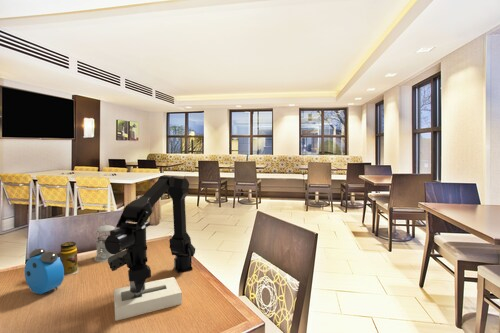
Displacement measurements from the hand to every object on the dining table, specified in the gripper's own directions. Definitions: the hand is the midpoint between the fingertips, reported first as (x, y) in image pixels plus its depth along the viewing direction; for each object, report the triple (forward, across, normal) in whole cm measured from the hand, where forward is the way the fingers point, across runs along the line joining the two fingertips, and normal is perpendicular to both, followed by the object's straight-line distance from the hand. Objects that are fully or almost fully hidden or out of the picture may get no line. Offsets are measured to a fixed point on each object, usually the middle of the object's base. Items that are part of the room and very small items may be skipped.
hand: (137, 288), depth 89 cm
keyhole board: (+6, 0, +3) cm, 6 cm away
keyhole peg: (+5, 0, 0) cm, 5 cm away
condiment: (+6, -38, -24) cm, 45 cm away
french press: (+6, -48, -10) cm, 49 cm away
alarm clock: (+6, -24, -29) cm, 38 cm away
